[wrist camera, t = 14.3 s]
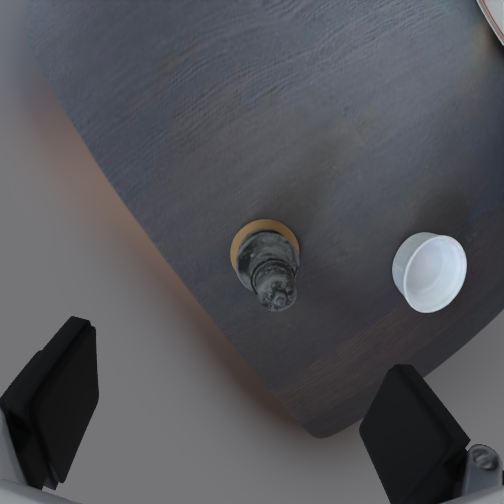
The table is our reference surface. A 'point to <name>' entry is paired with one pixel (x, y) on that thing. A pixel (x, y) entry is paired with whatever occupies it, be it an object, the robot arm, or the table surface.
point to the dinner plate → (494, 15)
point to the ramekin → (429, 270)
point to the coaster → (256, 225)
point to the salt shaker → (269, 267)
